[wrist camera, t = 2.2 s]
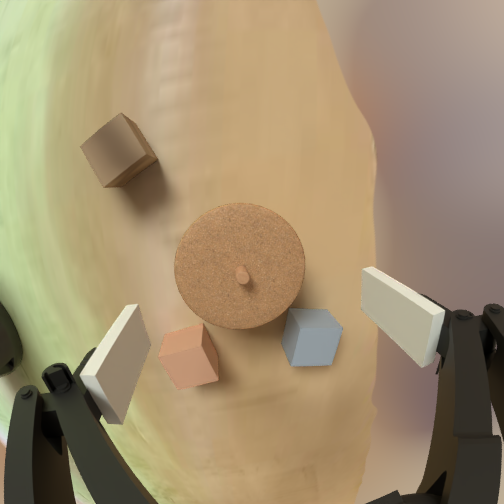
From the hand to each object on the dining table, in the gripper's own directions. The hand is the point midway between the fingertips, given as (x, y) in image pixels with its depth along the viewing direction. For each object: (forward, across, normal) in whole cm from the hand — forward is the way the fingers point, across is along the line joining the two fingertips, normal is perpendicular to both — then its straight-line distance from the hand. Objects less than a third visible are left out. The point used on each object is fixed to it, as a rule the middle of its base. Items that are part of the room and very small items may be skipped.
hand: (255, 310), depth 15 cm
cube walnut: (+15, -10, +12) cm, 22 cm away
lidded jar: (+15, 0, 0) cm, 15 cm away
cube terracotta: (+15, -7, -11) cm, 20 cm away
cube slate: (+15, +7, -11) cm, 20 cm away
